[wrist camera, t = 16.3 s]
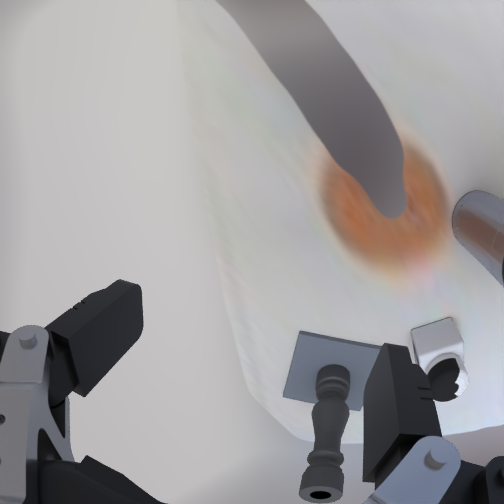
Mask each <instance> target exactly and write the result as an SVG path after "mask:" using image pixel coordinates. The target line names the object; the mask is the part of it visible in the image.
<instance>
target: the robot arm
mask: <svg viewBox="0 0 504 504" xmlns="http://www.w3.org/2000/svg"><path fill="white" fill-rule="evenodd" d="M452 227H453V232H454V234H455V237H456V238H457V240H458V241H459V242H460V243H461V244H462V245H463V246H464V247H465V248H466V249H467V250H468V251H469V252H470V253H471V254H472V255H473V256H474V257H475V258H476V259H477V260H478V261H479V262H480V263H481V264H482V265H483V266H484V267H485V268H486V269H487V270H488V271H489V272H490V273H491V274H492V275H493V276H494V278H495V279H496V280H497V281H498V282H499V283H500V284H501V285H502V286H503V287H504V200H502V199H500V198H498V197H495V196H493V195H491V194H489V193H486V192H483V191H472V192H470V193H468V194H466V195H465V196H463V197H462V198H461V199H460V201H459V202H458V204H457V205H456V207H455V210H454V213H453V218H452ZM142 330H143V307H142V291H141V287H140V286H139V285H138V284H134V283H131V282H127V281H124V280H121V279H119V280H117V281H115V282H114V283H112V284H111V285H110V286H108V287H107V288H106V289H102V290H99V291H97V292H94V293H91V294H90V295H88V296H87V297H85V298H84V299H83V300H81V302H78V303H77V304H76V305H74V306H73V308H70V309H69V310H68V311H66V312H65V313H64V314H62V315H61V316H59V317H58V318H57V319H56V320H54V321H53V322H52V323H50V324H49V325H47V326H46V327H45V328H43V327H41V326H36V325H27V326H23V327H20V328H18V329H16V330H15V331H14V332H12V333H7V332H2V331H0V504H165V503H162V502H160V501H158V500H156V499H155V498H153V497H152V496H150V495H149V494H148V493H146V492H145V491H144V490H142V489H141V488H140V487H138V486H137V485H136V484H134V483H133V482H132V481H131V480H129V479H128V478H127V477H125V476H124V475H123V474H121V473H119V472H117V471H115V470H113V469H111V468H110V467H108V466H106V465H104V464H102V463H100V462H98V461H97V460H95V459H93V458H91V457H89V456H88V455H86V456H85V458H84V459H83V460H82V462H81V463H78V462H75V461H74V457H73V454H72V451H71V445H70V418H69V417H70V415H69V414H70V413H69V412H70V408H69V405H70V402H69V398H68V395H69V394H70V393H71V392H72V391H74V392H75V393H77V394H79V395H81V396H83V397H86V395H87V394H88V393H89V392H90V391H91V390H92V389H93V388H94V387H95V386H96V385H97V383H98V382H99V381H100V380H101V379H102V378H103V377H104V376H105V375H106V374H107V373H108V371H109V370H110V369H111V368H112V367H113V366H114V365H115V364H116V363H117V362H118V361H119V360H120V358H121V357H122V356H123V355H124V354H125V353H126V352H127V351H128V350H129V349H130V347H132V346H133V344H134V343H135V342H136V341H137V340H138V339H139V337H140V336H141V333H142ZM430 390H431V387H430V383H429V379H428V376H427V375H426V373H425V372H424V371H423V369H422V368H421V367H420V365H419V364H412V361H411V357H410V353H409V349H408V347H407V346H401V345H394V344H389V343H384V344H383V345H382V347H381V349H380V352H379V354H378V356H377V359H376V361H375V363H374V366H373V368H372V370H371V372H370V375H369V377H368V379H367V382H366V385H365V389H364V395H363V407H364V451H363V454H364V455H363V482H372V483H374V482H375V491H374V492H373V493H372V494H371V495H370V496H369V497H368V499H367V500H366V501H365V502H364V503H363V504H504V456H498V457H495V458H493V459H492V460H491V461H490V462H489V463H488V464H487V465H486V466H485V467H483V466H479V465H476V464H472V463H469V462H465V461H463V460H461V459H460V454H459V452H458V450H457V449H456V447H455V446H454V445H453V444H452V443H451V442H450V441H448V440H446V439H444V438H442V433H441V429H440V424H439V420H438V415H437V411H436V407H435V403H434V401H433V395H432V391H430Z"/></svg>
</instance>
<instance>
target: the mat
mask: <svg viewBox="0 0 504 504" xmlns="http://www.w3.org/2000/svg"><path fill="white" fill-rule="evenodd" d="M381 347H382V346H376V345H371V344H365V343H360V342H354V341H349V340H344V339H338V338H333V337H328V336H323V335H318V334H314V333H309V332H304V331H300V332H299V337H298V341H297V344H296V348H295V352H294V356H293V360H292V364H291V368H290V371H289V375H288V379H287V382H286V386H285V390H284V393H283V397H285V398H289V399H294V400H299V401H304V402H309V403H314V404H316V403H317V402H318V399H317V397H316V390H315V386H316V379H317V374H318V371H319V370H320V369H321V368H322V367H324V366H327V365H331V364H337V365H342V366H343V367H345V368H347V370H348V371H349V372H350V391H349V395H348V398H347V400H346V401H345V403H346V404H347V405H348V407H349V410H355V411H360V410H361V408H362V406H363V395H364V389H365V385H366V382H367V379H368V377H369V375H370V372H371V370H372V368H373V366H374V363H375V361H376V359H377V356H378V354H379V352H380V349H381Z"/></svg>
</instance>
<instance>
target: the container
mask: <svg viewBox="0 0 504 504" xmlns="http://www.w3.org/2000/svg"><path fill="white" fill-rule="evenodd" d="M411 335H412V341H413V347H414V354H415V361H416V364H419V365H420V367H421V368H422V369H423V371H424V372H425V373H426V375H427V376H428V379H429V383H430V387H431V390H430V391H432V395H433V399H434V400H436V401H440V402H445V401H450V400H452V399H455V398H456V397H458V396H459V395H461V394H462V393H463V391H464V390H465V389H466V387H467V385H468V382H469V376H468V373H467V371H466V368H465V366H464V341H463V339H462V337H461V335H460V333H459V331H458V329H457V327H456V326H455V324H454V322H453V320H452V318H447V319H444V320H441V321H438V322H435V323H432V324H428V325H425V326H422V327H419V328H416V329H413V330H411Z"/></svg>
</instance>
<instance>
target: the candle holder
mask: <svg viewBox="0 0 504 504" xmlns="http://www.w3.org/2000/svg"><path fill="white" fill-rule="evenodd" d="M315 390H316V397H317V399H318V402H317V403H316V404H315V405H314V407H313V410H312V420H313V426H314V433H315V443H314V450H313V451H312V452H311V453H309V455H308V458H307V461H308V463H309V464H310V466H309V467H307V469H306V471H305V472H304V474H303V475H302V480H301V485H300V490H299V496H300V497H301V498H302V499H304V500H306V501H309V502H313V503H330V502H335V501H337V500H339V499H340V498H341V497H342V494H343V484H344V474H343V473H342V469H341V468H340V465H341V464H342V463H343V461H344V457H343V454H342V453H341V452H340V443H341V437H342V434H343V432H344V429H345V426H346V423H347V421H348V418H349V407H348V405H347V404H346V403H345V401H346V400H347V398H348V395H349V391H350V372H349V371H348V370H347V368H345V367H343V366H342V365H337V364H331V365H327V366H324V367H322V368H321V369H320V370H319V371H318V374H317V379H316V386H315Z"/></svg>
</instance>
